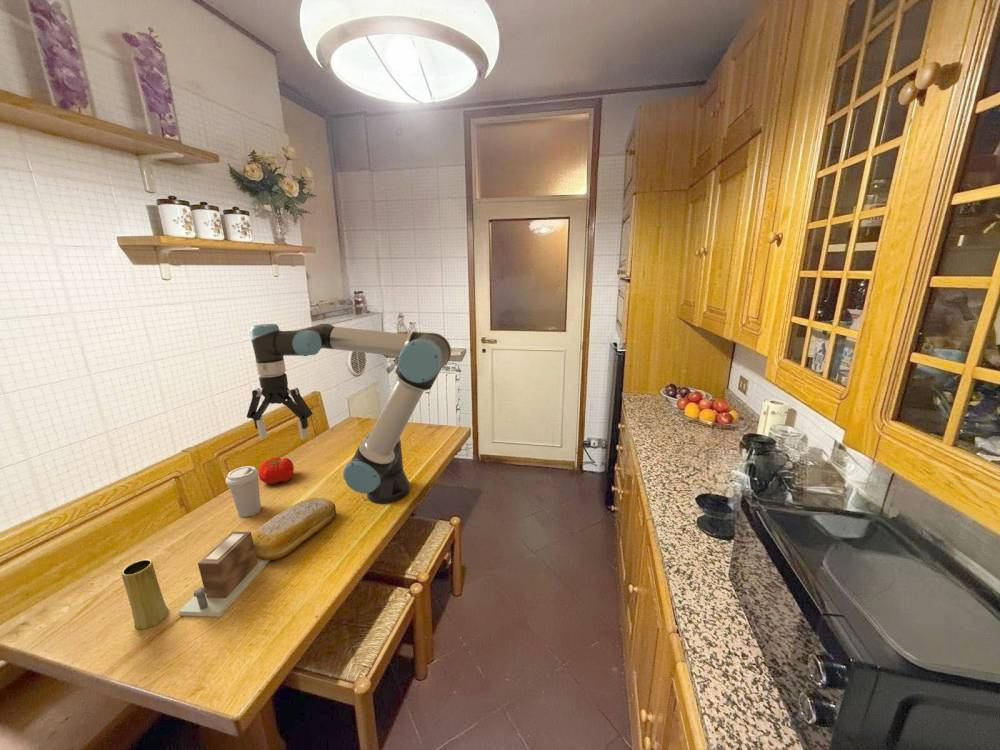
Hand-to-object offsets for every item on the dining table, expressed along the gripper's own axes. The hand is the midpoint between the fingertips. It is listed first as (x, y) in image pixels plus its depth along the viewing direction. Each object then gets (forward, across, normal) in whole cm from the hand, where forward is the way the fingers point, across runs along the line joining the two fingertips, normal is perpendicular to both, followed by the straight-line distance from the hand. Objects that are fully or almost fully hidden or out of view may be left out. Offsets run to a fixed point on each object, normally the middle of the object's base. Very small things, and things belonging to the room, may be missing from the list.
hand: (283, 438), depth 129 cm
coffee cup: (+27, -16, -1) cm, 31 cm away
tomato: (+27, -19, +20) cm, 39 cm away
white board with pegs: (+27, +1, -33) cm, 42 cm away
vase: (+27, -10, -44) cm, 52 cm away
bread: (+27, +7, -13) cm, 31 cm away
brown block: (+26, +2, -33) cm, 42 cm away
